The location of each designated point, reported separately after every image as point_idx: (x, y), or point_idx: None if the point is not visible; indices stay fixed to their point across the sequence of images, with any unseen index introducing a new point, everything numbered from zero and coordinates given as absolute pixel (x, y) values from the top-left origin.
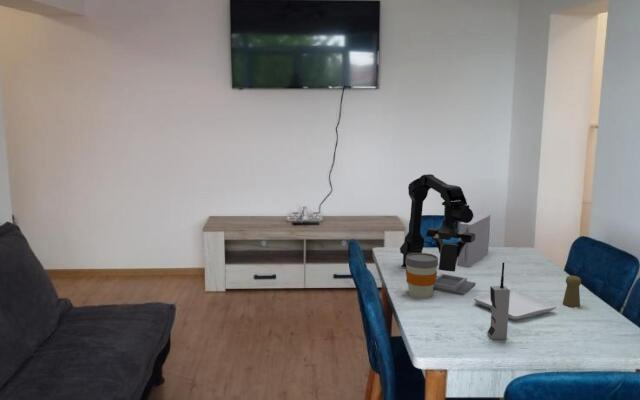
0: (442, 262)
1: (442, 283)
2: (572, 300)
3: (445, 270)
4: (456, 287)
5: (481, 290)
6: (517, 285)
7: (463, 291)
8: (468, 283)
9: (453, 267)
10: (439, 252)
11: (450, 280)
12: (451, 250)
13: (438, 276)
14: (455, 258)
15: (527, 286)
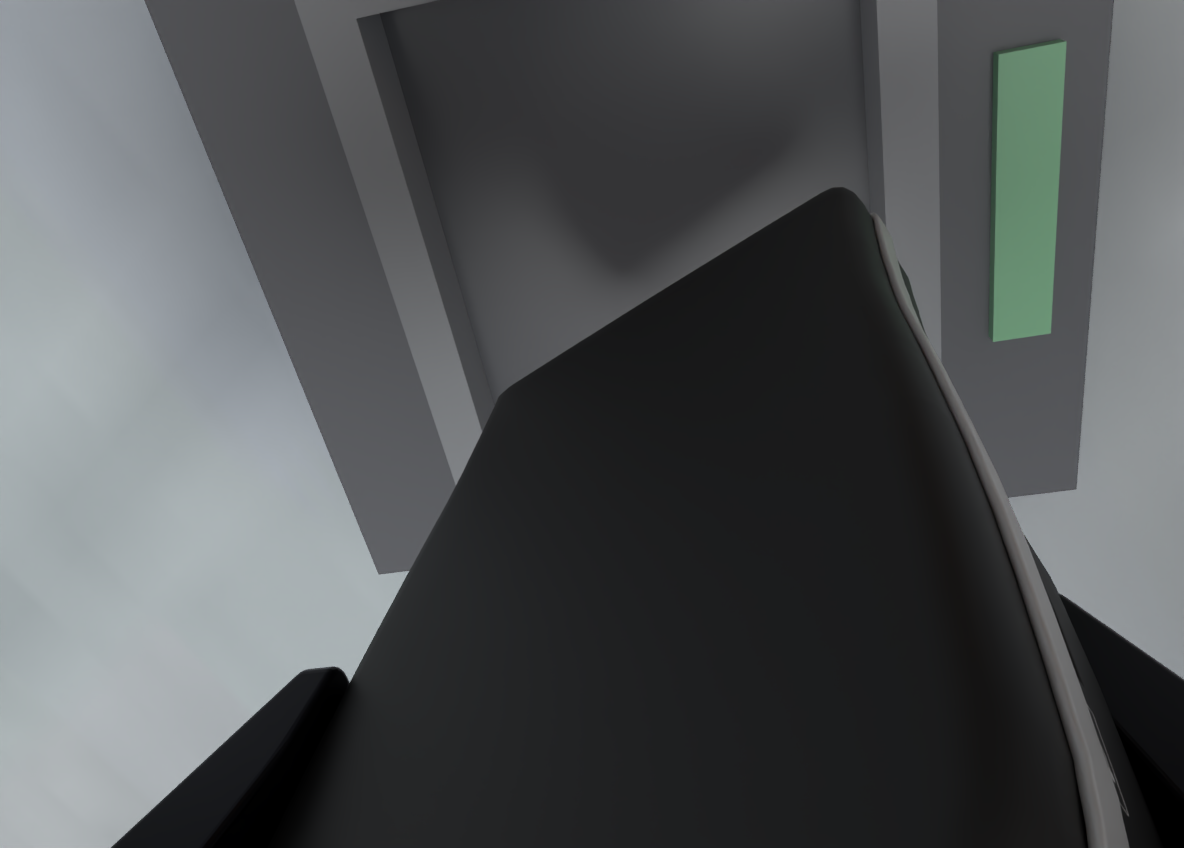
0: (784, 306)
1: (746, 201)
2: None
3: (684, 276)
4: (316, 43)
5: (183, 417)
6: (86, 801)
7: (202, 66)
8: (425, 487)
9: (509, 423)
10: (1110, 630)
11: None
12: (458, 800)
13: None
14: (406, 606)
15: (9, 826)
